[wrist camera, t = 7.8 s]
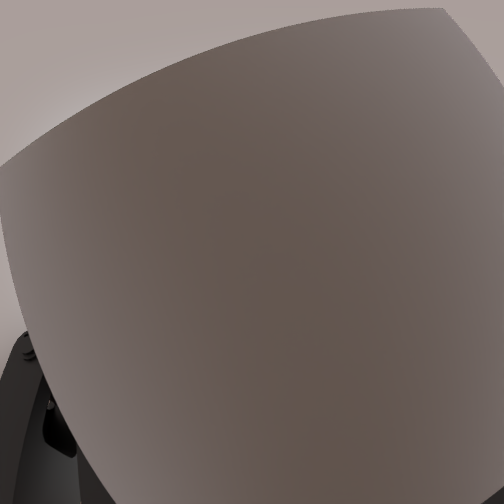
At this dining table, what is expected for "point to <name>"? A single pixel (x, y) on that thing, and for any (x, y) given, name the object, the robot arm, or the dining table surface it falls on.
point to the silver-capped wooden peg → (277, 269)
